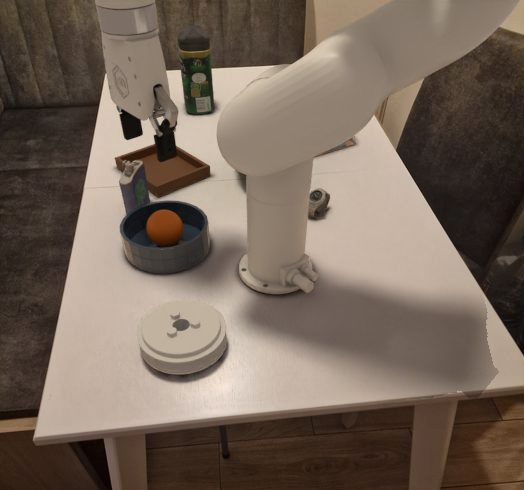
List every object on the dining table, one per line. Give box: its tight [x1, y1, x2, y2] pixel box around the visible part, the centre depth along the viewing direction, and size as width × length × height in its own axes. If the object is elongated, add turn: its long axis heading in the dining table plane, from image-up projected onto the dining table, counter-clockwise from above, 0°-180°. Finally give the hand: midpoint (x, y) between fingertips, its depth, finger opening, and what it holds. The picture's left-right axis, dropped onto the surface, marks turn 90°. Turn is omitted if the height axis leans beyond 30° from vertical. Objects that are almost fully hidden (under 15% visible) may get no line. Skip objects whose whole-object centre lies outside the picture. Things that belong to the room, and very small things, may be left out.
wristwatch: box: [308, 188, 331, 219], centre depth 94 cm, size 4×6×5 cm, turn 143°
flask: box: [118, 160, 151, 216], centre depth 91 cm, size 9×3×11 cm, turn 172°
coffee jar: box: [177, 25, 215, 115], centre depth 124 cm, size 10×8×19 cm
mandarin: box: [146, 210, 183, 247], centre depth 85 cm, size 6×6×6 cm
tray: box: [114, 143, 212, 198], centre depth 106 cm, size 17×14×2 cm
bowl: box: [119, 199, 211, 275], centre depth 86 cm, size 15×15×5 cm
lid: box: [136, 298, 228, 375], centre depth 70 cm, size 13×13×5 cm
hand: (150, 147), depth 76 cm, fingers open, 9 cm apart
